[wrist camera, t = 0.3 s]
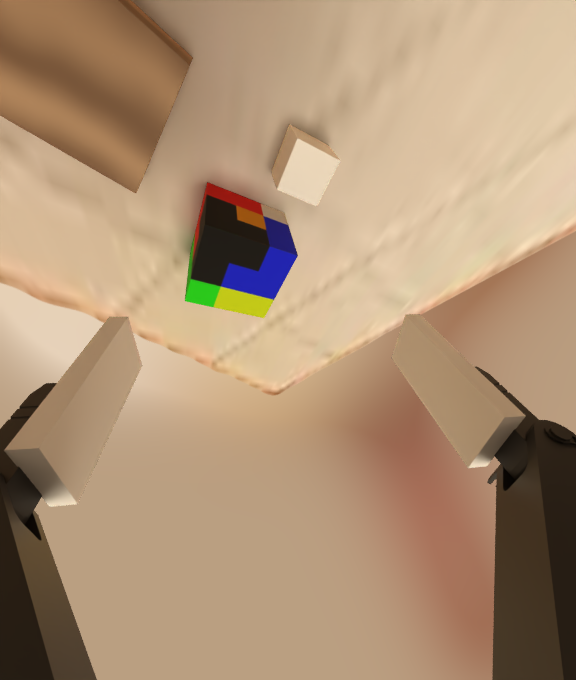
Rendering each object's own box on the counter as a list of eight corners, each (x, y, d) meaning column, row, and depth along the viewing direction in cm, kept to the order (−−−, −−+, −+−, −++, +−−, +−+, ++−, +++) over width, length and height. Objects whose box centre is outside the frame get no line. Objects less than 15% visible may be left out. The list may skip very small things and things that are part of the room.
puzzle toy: (284, 212, 37) (297, 255, 31) (257, 272, 44) (263, 318, 37) (207, 182, 33) (204, 224, 27) (190, 253, 40) (184, 301, 33)
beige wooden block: (289, 124, 30) (297, 138, 27) (328, 145, 32) (340, 160, 29) (271, 171, 33) (276, 189, 30) (307, 188, 35) (316, 206, 32)
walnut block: (20, -104, 19) (-21, -126, 16) (192, 57, 25) (189, 65, 22) (1, 86, 25) (-30, 97, 22) (144, 174, 32) (136, 193, 29)
